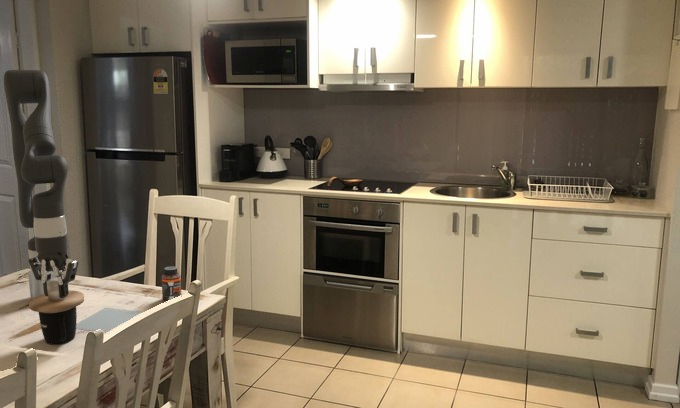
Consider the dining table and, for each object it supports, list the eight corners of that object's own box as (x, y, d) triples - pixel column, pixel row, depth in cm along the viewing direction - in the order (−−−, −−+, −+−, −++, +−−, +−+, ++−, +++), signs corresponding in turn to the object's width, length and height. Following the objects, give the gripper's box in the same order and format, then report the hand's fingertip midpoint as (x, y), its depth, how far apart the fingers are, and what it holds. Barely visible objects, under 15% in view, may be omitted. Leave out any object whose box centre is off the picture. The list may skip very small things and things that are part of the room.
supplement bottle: (176, 305, 179) (174, 271, 177) (159, 304, 180) (157, 270, 178) (185, 299, 185) (183, 265, 183) (168, 297, 186) (166, 264, 184)
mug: (39, 339, 154) (36, 304, 152) (75, 332, 159) (72, 298, 157) (45, 356, 144) (42, 319, 142) (83, 348, 149) (80, 311, 147)
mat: (69, 330, 160) (69, 327, 160) (105, 310, 175) (105, 307, 175) (118, 336, 156) (118, 333, 156) (151, 315, 171) (151, 312, 171)
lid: (17, 309, 144) (14, 286, 143) (54, 292, 157) (51, 271, 155) (60, 314, 141) (58, 291, 140) (94, 296, 154) (93, 275, 152)
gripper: (16, 234, 143) (23, 298, 147) (63, 238, 140) (69, 304, 143) (38, 228, 151) (44, 289, 154) (84, 231, 147) (89, 294, 150)
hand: (56, 296), depth 149 cm, fingers closed on lid, 4 cm apart
